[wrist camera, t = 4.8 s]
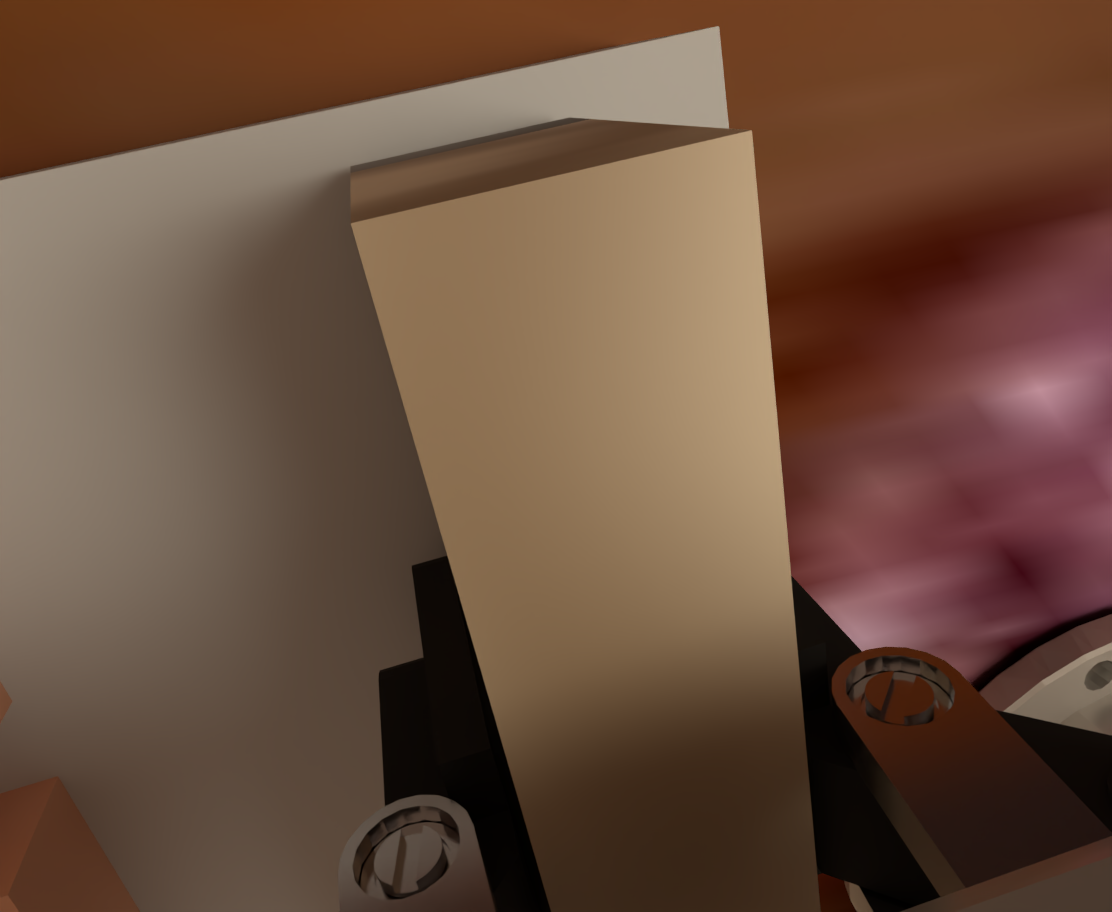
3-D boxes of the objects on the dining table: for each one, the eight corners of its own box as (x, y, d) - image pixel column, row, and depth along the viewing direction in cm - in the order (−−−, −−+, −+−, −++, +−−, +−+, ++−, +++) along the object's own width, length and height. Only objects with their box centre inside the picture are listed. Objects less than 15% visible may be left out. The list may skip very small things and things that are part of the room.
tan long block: (568, 117, 10) (751, 130, 5) (699, 871, 15) (845, 1191, 11) (349, 166, 10) (350, 223, 5) (563, 918, 15) (654, 1267, 11)
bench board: (621, 44, 14) (718, 26, 10) (714, 700, 20) (797, 834, 16) (-806, 350, 11) (-1348, 470, 8) (-203, 997, 17) (-348, 1236, 14)
